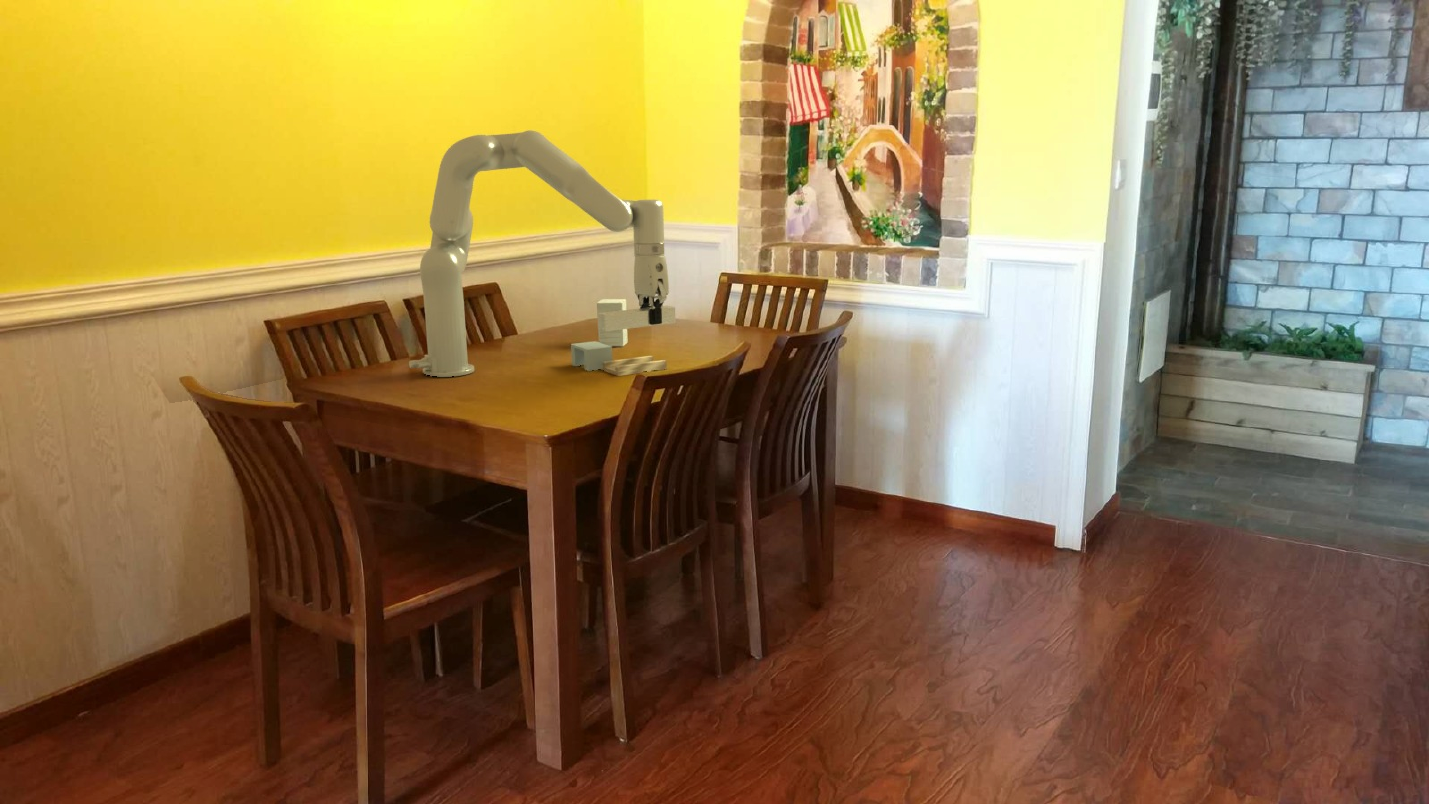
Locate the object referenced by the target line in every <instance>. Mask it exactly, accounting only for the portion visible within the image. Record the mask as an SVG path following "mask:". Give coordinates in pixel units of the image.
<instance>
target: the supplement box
mask: <svg viewBox="0 0 1429 804" xmlns="http://www.w3.org/2000/svg"><path fill="white" fill-rule="evenodd" d="M622 310H627V299H626V298H623V299H621V298H619V299H618V298H602V299H600V300H599V301H598V302H596V311H597V313H603V312H612V311H622ZM597 334H598V342H599V343H602V344H605V345H608V346H611V347H625V345H627V343H628V342H629V341H628V329H621V330H613V331H602V330H599V329H598V328H597Z"/></svg>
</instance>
